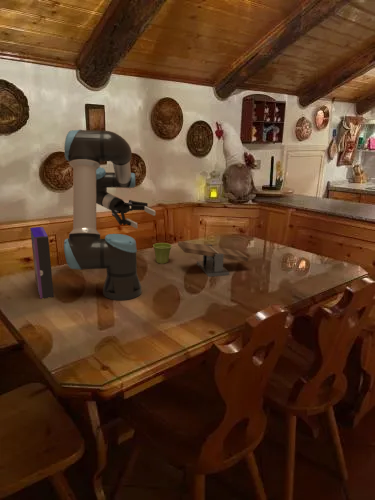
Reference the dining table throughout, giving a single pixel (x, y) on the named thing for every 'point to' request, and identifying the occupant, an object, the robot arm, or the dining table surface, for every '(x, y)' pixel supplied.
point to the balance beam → (211, 251)
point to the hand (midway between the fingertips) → (146, 219)
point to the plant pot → (162, 252)
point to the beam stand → (213, 265)
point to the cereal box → (42, 262)
